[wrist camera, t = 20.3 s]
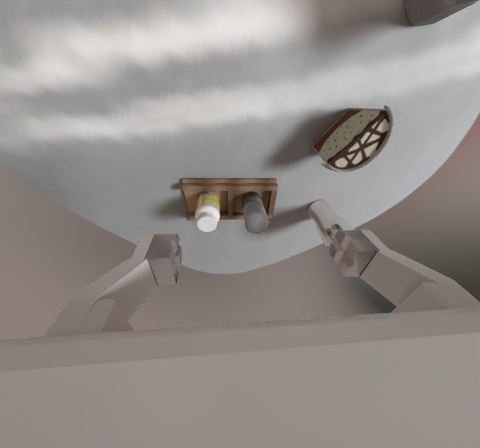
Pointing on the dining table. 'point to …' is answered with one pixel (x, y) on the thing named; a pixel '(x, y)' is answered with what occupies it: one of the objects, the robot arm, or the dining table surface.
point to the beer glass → (327, 221)
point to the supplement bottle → (207, 211)
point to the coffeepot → (433, 10)
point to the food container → (355, 138)
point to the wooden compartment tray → (236, 198)
